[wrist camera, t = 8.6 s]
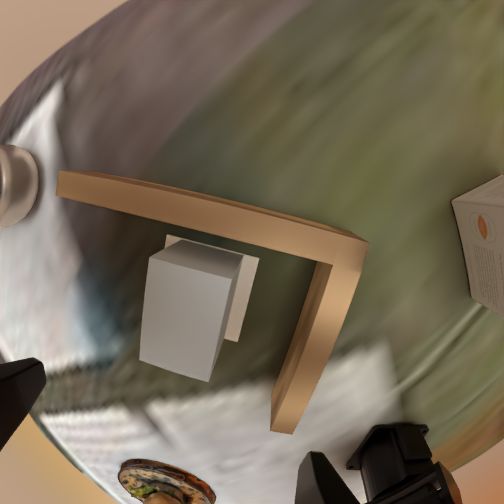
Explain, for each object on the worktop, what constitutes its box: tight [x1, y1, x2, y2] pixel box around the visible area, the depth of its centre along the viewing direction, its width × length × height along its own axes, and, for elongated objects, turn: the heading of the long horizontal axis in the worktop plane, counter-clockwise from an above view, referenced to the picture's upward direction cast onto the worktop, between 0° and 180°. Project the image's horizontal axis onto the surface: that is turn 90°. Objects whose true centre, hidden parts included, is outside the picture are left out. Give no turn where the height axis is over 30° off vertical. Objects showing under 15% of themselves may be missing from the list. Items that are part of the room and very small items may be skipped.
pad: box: [164, 234, 259, 342], centre depth 19 cm, size 6×6×1 cm
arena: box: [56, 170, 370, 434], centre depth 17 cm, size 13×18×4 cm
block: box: [139, 239, 244, 382], centre depth 16 cm, size 4×6×5 cm, turn 166°
